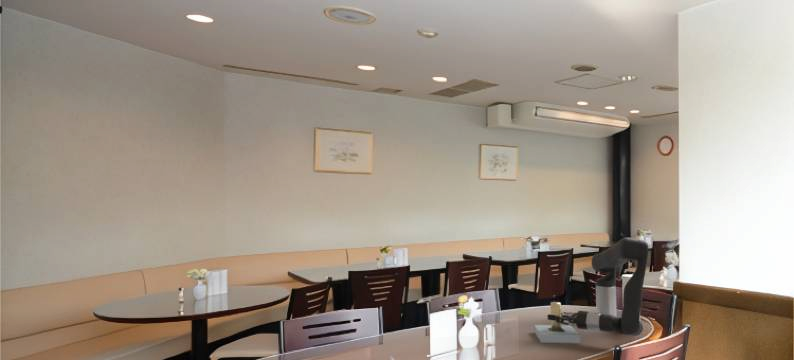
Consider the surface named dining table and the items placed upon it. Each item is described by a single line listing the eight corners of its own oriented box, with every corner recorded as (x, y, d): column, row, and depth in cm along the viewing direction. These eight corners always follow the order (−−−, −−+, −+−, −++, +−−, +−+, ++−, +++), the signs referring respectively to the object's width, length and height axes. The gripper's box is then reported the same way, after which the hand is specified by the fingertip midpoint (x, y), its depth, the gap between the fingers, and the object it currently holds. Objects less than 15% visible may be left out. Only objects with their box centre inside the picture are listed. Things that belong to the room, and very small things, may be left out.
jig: (534, 332, 231) (534, 324, 231) (570, 333, 229) (570, 325, 229) (540, 342, 215) (540, 334, 215) (579, 343, 213) (579, 335, 213)
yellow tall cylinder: (550, 333, 224) (549, 301, 225) (560, 333, 224) (559, 301, 224) (552, 336, 220) (551, 303, 220) (562, 336, 219) (562, 303, 220)
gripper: (594, 308, 220) (555, 304, 230) (584, 315, 208) (543, 310, 218) (594, 326, 219) (555, 321, 229) (585, 333, 208) (544, 327, 218)
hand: (550, 315), depth 224 cm, fingers closed on yellow tall cylinder, 4 cm apart
